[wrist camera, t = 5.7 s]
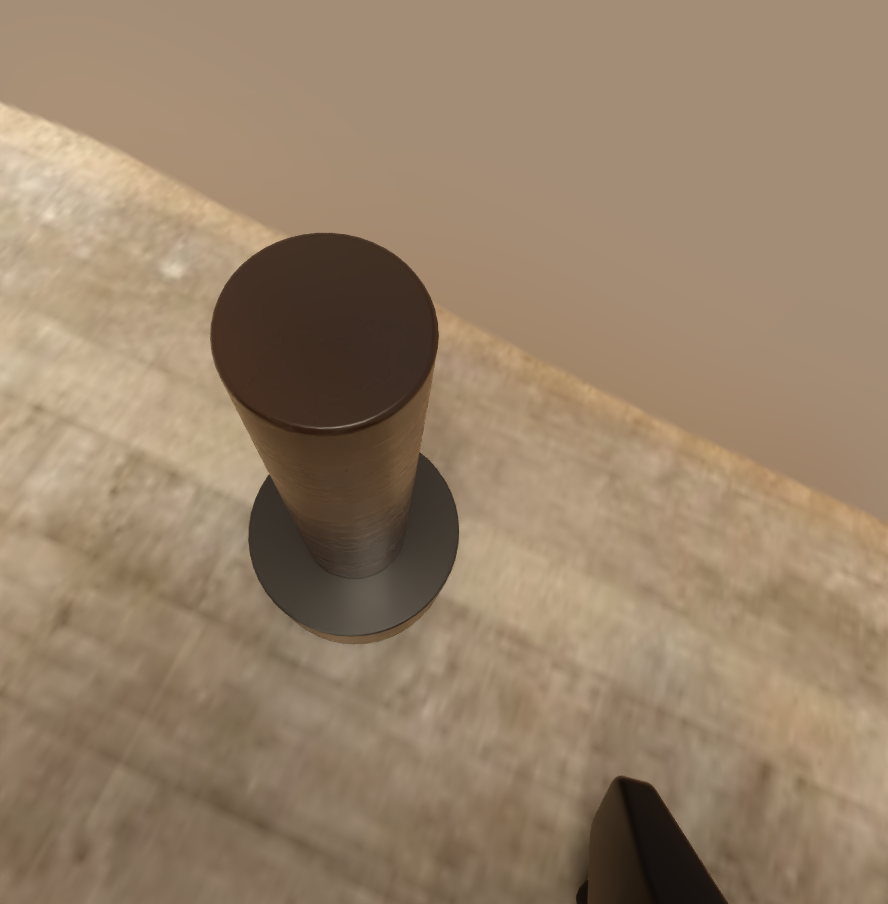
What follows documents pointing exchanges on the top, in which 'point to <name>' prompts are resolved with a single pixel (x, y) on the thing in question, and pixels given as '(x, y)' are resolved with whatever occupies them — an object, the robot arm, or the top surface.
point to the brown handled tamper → (338, 433)
